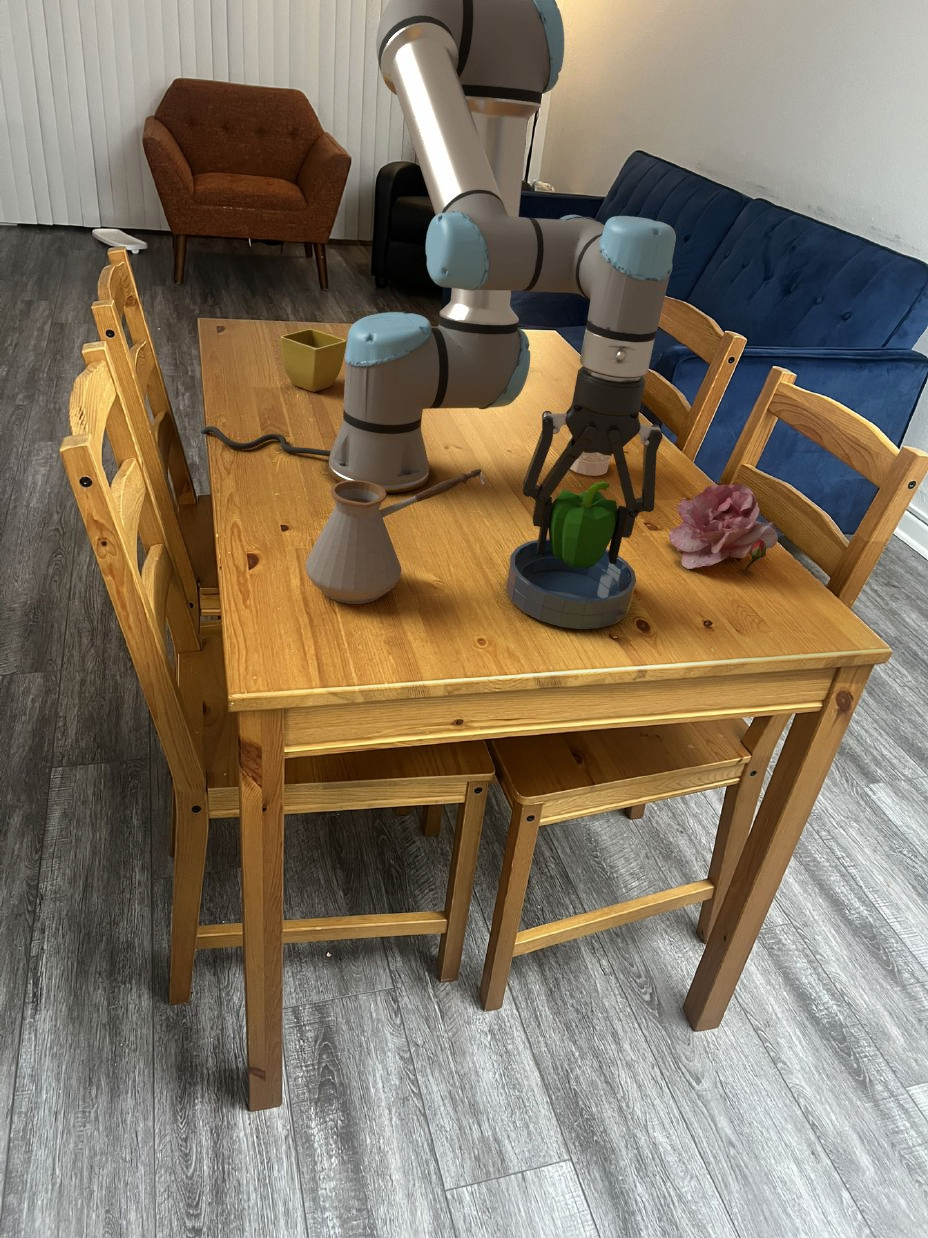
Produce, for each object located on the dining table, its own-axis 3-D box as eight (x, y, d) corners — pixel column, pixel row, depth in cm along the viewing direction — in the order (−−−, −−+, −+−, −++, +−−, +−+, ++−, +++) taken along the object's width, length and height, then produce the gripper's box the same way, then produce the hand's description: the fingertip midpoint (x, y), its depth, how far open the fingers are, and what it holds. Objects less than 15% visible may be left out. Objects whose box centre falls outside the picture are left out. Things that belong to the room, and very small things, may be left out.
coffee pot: (316, 617, 108) (321, 498, 100) (295, 568, 117) (298, 455, 109) (487, 600, 116) (504, 489, 108) (455, 555, 125) (469, 449, 117)
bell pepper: (553, 576, 111) (567, 499, 106) (534, 543, 118) (547, 469, 112) (619, 575, 113) (636, 500, 108) (597, 543, 120) (612, 470, 114)
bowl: (504, 623, 112) (509, 591, 109) (506, 561, 125) (511, 531, 123) (634, 640, 112) (642, 608, 110) (622, 576, 125) (629, 546, 123)
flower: (698, 504, 141) (713, 452, 133) (785, 552, 135) (806, 501, 127) (641, 556, 134) (654, 505, 126) (731, 610, 127) (750, 559, 120)
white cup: (608, 481, 152) (621, 422, 147) (560, 472, 153) (571, 413, 148) (611, 463, 159) (624, 406, 154) (565, 455, 160) (576, 398, 154)
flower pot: (345, 387, 175) (348, 339, 171) (315, 398, 169) (317, 348, 164) (309, 375, 179) (310, 327, 174) (278, 385, 172) (278, 336, 168)
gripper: (517, 369, 100) (490, 557, 112) (713, 394, 100) (665, 579, 112) (518, 349, 106) (492, 529, 118) (701, 373, 106) (657, 550, 118)
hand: (576, 553), depth 115 cm, fingers closed on bell pepper, 8 cm apart
